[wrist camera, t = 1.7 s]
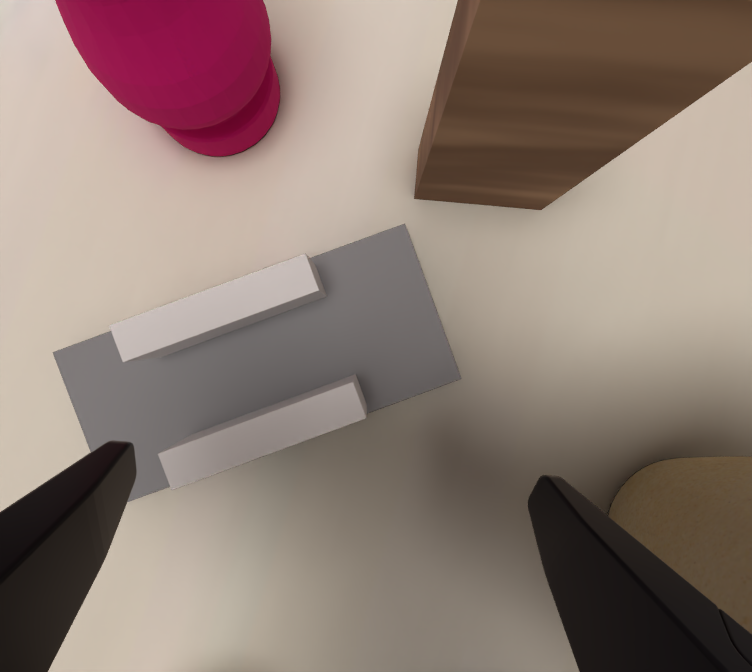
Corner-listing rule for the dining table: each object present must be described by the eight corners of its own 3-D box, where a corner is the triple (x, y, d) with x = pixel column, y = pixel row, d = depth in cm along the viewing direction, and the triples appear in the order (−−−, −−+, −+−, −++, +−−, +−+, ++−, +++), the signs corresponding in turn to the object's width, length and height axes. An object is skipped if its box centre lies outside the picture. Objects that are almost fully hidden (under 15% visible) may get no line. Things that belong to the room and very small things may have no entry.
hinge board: (457, 376, 21) (477, 387, 17) (124, 499, 21) (65, 539, 17) (403, 228, 21) (411, 204, 17) (68, 351, 20) (-6, 356, 16)
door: (541, 210, 21) (827, 8, 8) (414, 198, 21) (488, -25, 8) (547, 141, 21) (846, -178, 8) (420, 129, 21) (504, -214, 8)
